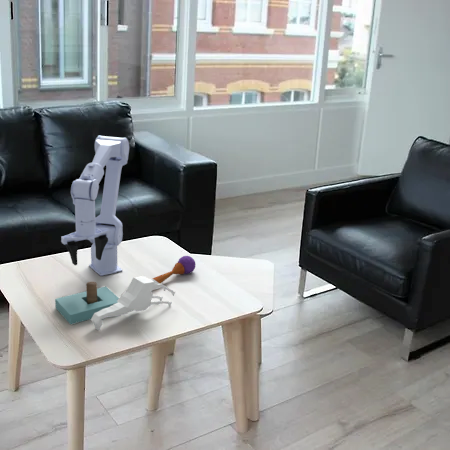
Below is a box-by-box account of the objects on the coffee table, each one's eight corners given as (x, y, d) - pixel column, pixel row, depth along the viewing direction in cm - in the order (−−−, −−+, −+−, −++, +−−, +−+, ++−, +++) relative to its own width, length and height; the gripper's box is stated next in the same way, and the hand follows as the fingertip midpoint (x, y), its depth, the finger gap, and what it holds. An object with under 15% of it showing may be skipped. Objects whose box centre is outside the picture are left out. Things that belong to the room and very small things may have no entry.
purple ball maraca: (141, 274, 199) (184, 252, 213) (145, 292, 201) (187, 268, 215) (154, 277, 195) (197, 254, 210) (158, 295, 197) (200, 270, 211)
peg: (85, 307, 186) (84, 282, 183) (94, 305, 187) (94, 280, 184) (89, 311, 183) (88, 286, 181) (99, 309, 185) (98, 284, 182)
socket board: (55, 307, 184) (55, 298, 183) (106, 295, 193) (105, 286, 192) (70, 324, 176) (70, 315, 175) (122, 310, 185) (122, 301, 184)
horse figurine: (150, 329, 193) (84, 326, 174) (167, 278, 192) (102, 270, 173) (161, 335, 190) (94, 333, 171) (178, 284, 189) (113, 276, 170)
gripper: (67, 227, 179) (69, 271, 184) (114, 219, 187) (114, 261, 192) (57, 219, 184) (59, 262, 189) (103, 212, 192) (104, 253, 197)
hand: (86, 261), depth 191 cm, fingers open, 7 cm apart
